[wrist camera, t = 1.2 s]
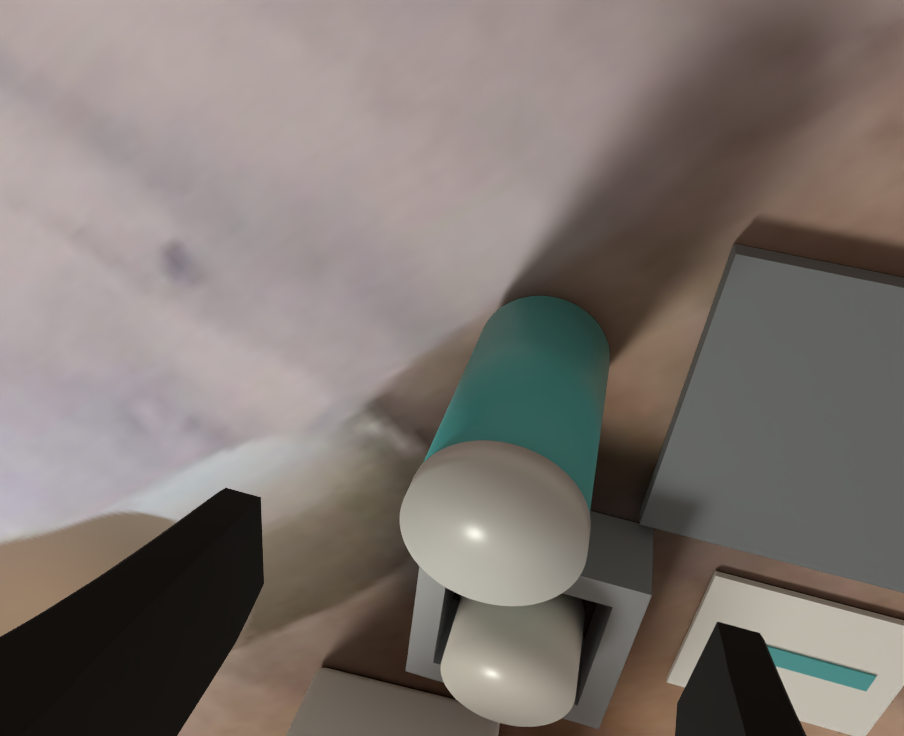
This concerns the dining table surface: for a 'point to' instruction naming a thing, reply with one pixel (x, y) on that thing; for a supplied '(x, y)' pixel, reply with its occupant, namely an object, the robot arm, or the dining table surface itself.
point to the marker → (514, 459)
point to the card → (807, 650)
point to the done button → (515, 659)
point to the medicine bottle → (381, 710)
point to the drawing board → (793, 420)
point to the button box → (602, 581)
